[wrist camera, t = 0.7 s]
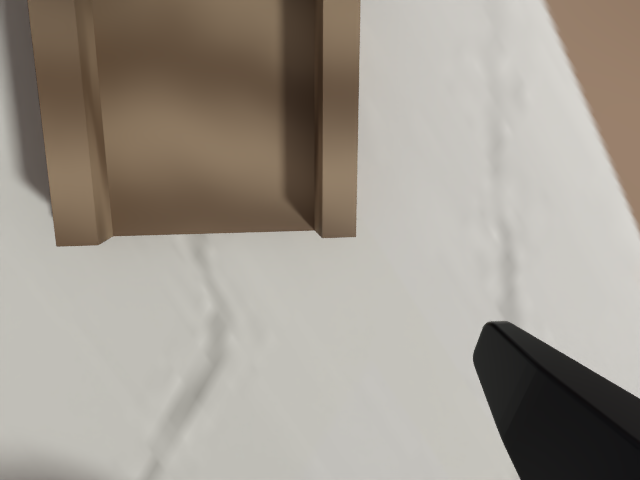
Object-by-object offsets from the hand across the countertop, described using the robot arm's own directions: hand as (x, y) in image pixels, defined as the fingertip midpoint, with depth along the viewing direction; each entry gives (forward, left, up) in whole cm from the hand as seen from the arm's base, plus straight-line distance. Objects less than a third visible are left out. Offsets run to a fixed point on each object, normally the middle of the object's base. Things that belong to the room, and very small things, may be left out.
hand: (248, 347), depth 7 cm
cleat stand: (+5, +4, -14) cm, 15 cm away
